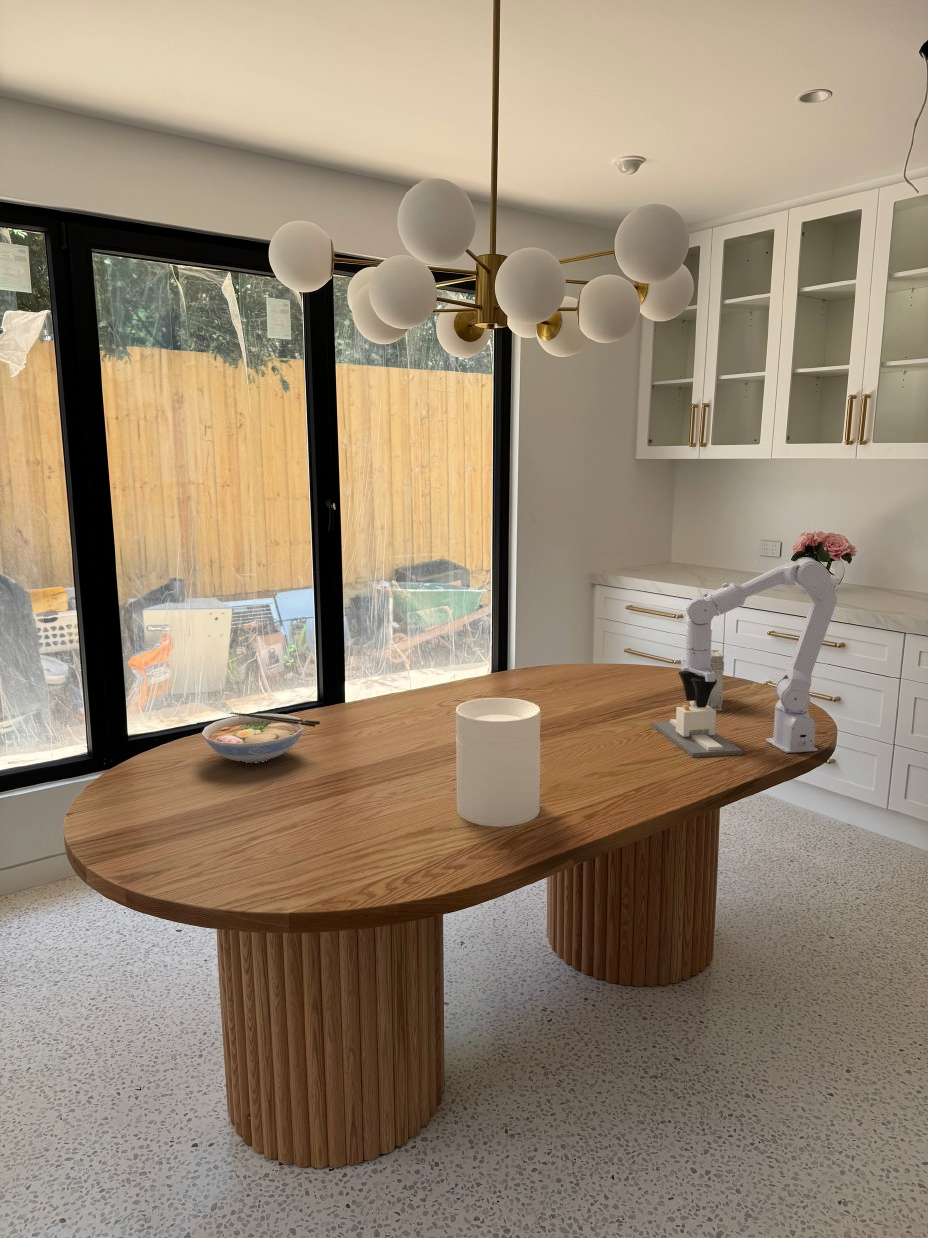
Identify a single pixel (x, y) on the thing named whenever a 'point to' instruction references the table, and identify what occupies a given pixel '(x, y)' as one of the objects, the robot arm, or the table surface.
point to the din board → (697, 741)
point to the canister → (498, 761)
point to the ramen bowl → (255, 736)
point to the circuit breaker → (716, 692)
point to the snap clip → (696, 731)
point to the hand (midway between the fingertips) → (696, 703)
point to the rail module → (695, 719)
